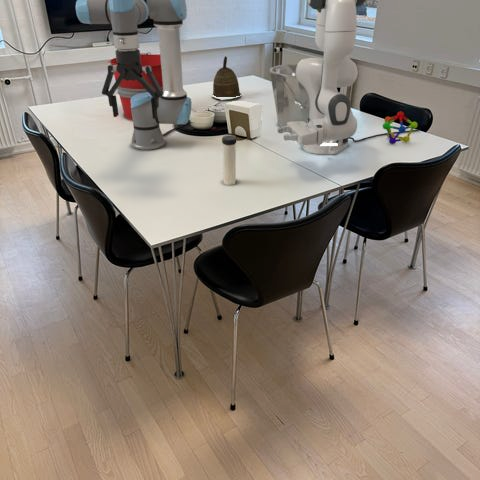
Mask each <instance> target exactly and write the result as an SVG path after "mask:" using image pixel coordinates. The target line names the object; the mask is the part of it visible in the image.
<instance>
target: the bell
mask: <svg viewBox="0 0 480 480" xmlns="http://www.w3.org/2000/svg"><path fill="white" fill-rule="evenodd" d="M227 63H228V57H227V56H224V58H223V63H222V67H221V68H219V69H218V70H217V71H216V73H215V75H214V78H213V81H212V83H213V84H212V95H214V96H216V97H236V96H240V95H241V96H242V93H241V92H240V83H239V80H238V79H239V78H238V77H237V75H236V73H235V72H234V70H232V69H231V68H230V67H227Z"/></svg>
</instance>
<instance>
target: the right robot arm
mask: <svg viewBox="0 0 480 480" xmlns="http://www.w3.org/2000/svg"><path fill="white" fill-rule="evenodd" d="M366 2H367V0H307V3H308V6H309V7H310V8H311V9H312V10H315V11H317V12H316V19H315V20H316V21H315V35H314V42H315V45H316V47H317V48H318V49H319V50H320V51H322V52H323V57H307V58H302V59H301V60H300V61H299V62H298V63H297V64H298V65H297V67H296V78H297V80H298V81H299V82H300V83H301V84H302V85H303V86H304V88H305V89H306V91H307V93H308V96H309V101H310V110H309V117H308V120H307V123H306V122H304V121H292V122H287V126H285V127H282V128H281V127H278V128H277V133H278V134H283V140H284V141H293V142H297V144H298V145H300V146H302V150H303V151H305V152H307V153H310V154H315V155H337V154H338V153H339V152H341V151H342V150H344V149H345V148H347V147H348V146H349V140H351V141H352V142H353V143H359V142H362V141H365V140H368V139H373V138H376V137H381V136H388V132H384V133H379V134H374V135H370V136H367V137H363V138H361V139H357V140H355V139H354V137H353V136H354V135H355V133H356V132H357V129H358V120H357V118H356V116H355V115H354V113H353V110H352V103H351V100H350V98H349V97H348V96H347V94H344V93H342V92H339V91H338V88H340V89H341V88H348V87H352V86H353V85H354V83H355V82H356V80H357V79H358V74H359V71H358V70H359V69H358V66H357V64H356V63H355V62H354V61H353V60H352V59H351V58H350V56H349V55H350V54H351V53H352V52H353V50H354V48H355V43H356V38H357V8H358V7H361V6H363V5H364V4H365V3H366ZM409 131H410V130H405V132H403V133H402V134H405V133H407V134H408V133H409ZM391 132H392V133H394V135H396V134H397V133H398V132H399V131H391ZM414 132H420V129H413V130H412V132H411V133H414ZM284 133H288V134H284Z"/></svg>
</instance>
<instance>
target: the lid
mask: <svg viewBox="0 0 480 480" xmlns="http://www.w3.org/2000/svg"><path fill="white" fill-rule="evenodd" d="M221 143H222V145H223V144H225V145H233V144H236V145H237V137H236V136H235V135H224V136H222V137H221Z"/></svg>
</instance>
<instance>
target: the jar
mask: <svg viewBox="0 0 480 480" xmlns="http://www.w3.org/2000/svg"><path fill="white" fill-rule="evenodd" d="M236 145H237V143H236V144H233V145H225V144H223V143H222V161H223V162H222V163H223V164H222V167H223V168H222V169H223V171H222V173H223V176H222V177H223V178H222V179H223V184H224V185H226V186H233V185H236V183H237V182H236V179H237V178H236V175H237V171H236V170H237V169H236V167H237V166H236V164H237V161H236V159H237V157H236V156H237V154H236V153H237V152H236V151H237V149H236V148H237V146H236Z"/></svg>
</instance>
